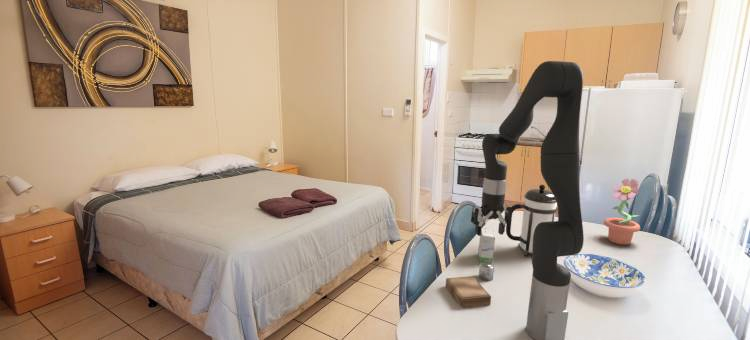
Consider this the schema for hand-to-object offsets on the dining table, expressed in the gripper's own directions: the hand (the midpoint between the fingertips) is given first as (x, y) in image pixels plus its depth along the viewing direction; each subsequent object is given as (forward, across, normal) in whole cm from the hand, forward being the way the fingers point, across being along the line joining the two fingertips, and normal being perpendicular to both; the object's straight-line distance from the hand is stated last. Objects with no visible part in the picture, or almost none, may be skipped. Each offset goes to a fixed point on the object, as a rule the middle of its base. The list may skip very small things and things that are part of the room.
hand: (489, 234), depth 128 cm
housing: (+17, 0, 0) cm, 17 cm away
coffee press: (+17, +30, +17) cm, 38 cm away
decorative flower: (+17, +78, +22) cm, 83 cm away
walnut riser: (+17, -12, -10) cm, 23 cm away
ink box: (+17, +7, +14) cm, 23 cm away
